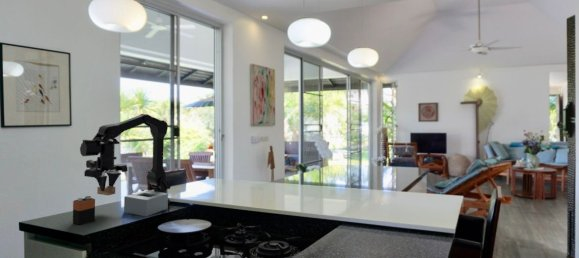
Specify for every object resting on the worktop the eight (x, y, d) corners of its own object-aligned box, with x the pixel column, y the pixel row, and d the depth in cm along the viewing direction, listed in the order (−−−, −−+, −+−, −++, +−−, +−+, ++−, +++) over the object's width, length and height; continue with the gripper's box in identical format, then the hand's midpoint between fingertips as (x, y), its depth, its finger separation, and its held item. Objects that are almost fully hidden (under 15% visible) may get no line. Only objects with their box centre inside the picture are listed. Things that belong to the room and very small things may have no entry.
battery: (95, 221, 155) (95, 196, 154) (79, 225, 149) (79, 199, 148) (88, 219, 157) (88, 195, 156) (72, 223, 151) (72, 198, 150)
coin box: (146, 205, 182) (146, 190, 182) (167, 208, 178) (168, 193, 177) (124, 212, 169) (124, 196, 168) (146, 216, 165) (146, 200, 164)
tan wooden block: (104, 192, 172) (104, 185, 172) (115, 193, 170) (115, 186, 170) (97, 193, 168) (97, 186, 168) (108, 195, 166) (108, 188, 166)
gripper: (109, 151, 180) (108, 184, 181) (74, 155, 162) (74, 192, 163) (128, 153, 176) (127, 187, 177) (95, 157, 158) (94, 195, 159)
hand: (106, 190), depth 169 cm, fingers closed on tan wooden block, 4 cm apart
